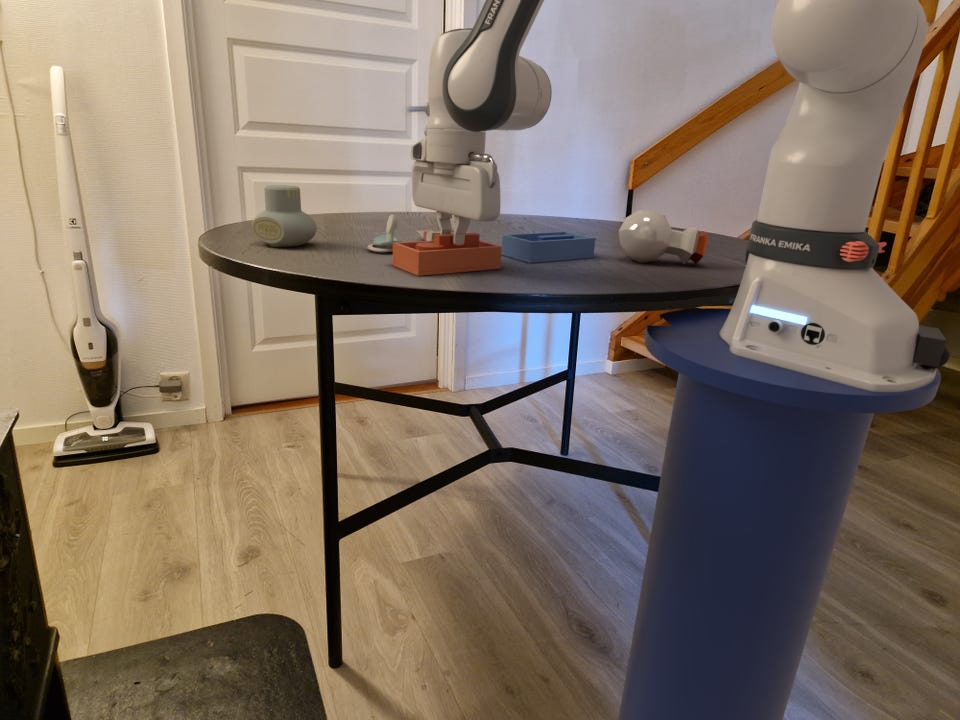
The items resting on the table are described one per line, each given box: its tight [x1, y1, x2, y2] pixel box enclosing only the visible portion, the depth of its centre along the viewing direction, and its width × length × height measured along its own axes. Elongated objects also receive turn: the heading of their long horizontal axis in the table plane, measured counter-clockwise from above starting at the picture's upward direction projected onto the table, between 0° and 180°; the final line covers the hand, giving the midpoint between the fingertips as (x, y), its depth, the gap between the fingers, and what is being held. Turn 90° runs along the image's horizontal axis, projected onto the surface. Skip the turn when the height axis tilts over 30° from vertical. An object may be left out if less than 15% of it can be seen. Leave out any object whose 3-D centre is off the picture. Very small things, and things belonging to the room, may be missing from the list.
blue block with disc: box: [537, 234, 574, 241], centre depth 112 cm, size 11×4×3 cm, turn 125°
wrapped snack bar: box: [415, 229, 440, 241], centre depth 115 cm, size 4×3×20 cm
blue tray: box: [501, 230, 596, 264], centre depth 112 cm, size 8×15×4 cm, turn 125°
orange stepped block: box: [416, 232, 480, 251], centre depth 97 cm, size 11×4×3 cm, turn 125°
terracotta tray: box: [392, 239, 502, 277], centre depth 98 cm, size 8×15×4 cm, turn 125°
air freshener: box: [250, 184, 318, 248], centre depth 108 cm, size 11×8×10 cm
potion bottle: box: [618, 208, 709, 266], centre depth 111 cm, size 9×10×15 cm
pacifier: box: [366, 214, 403, 253], centre depth 108 cm, size 7×6×6 cm
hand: (452, 242), depth 98 cm, fingers closed on orange stepped block
